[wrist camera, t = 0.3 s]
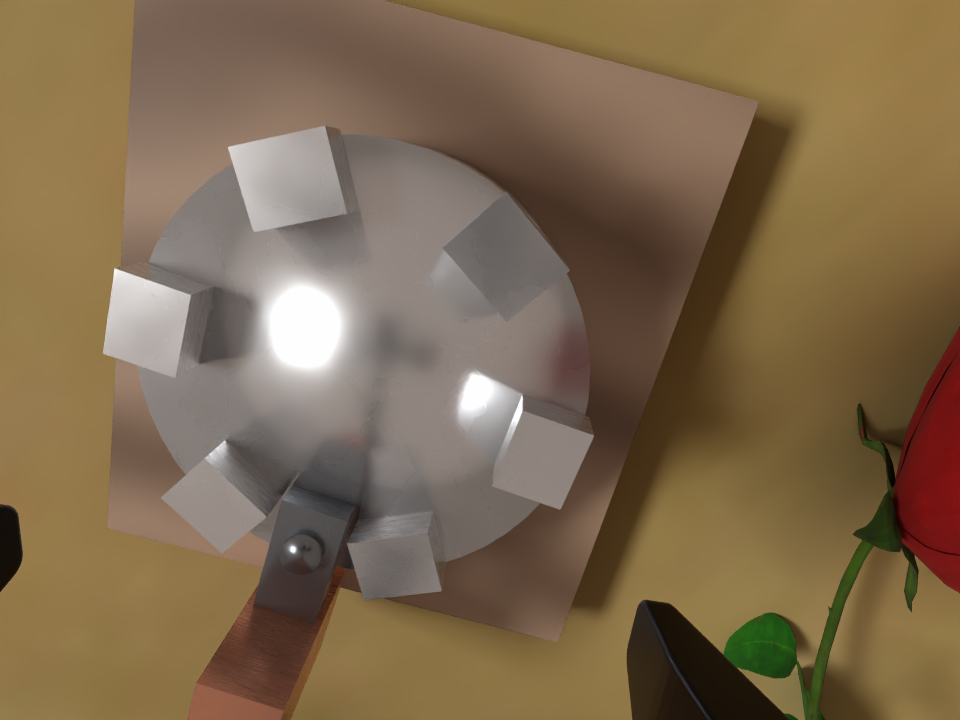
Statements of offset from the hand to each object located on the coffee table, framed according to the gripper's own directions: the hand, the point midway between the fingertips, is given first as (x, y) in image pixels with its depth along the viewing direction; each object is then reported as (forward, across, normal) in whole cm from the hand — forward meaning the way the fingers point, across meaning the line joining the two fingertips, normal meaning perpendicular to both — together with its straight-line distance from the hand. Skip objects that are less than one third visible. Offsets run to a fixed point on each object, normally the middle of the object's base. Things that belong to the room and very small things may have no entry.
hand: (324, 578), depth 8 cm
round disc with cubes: (+12, +2, +3) cm, 12 cm away
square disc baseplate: (+14, +2, 0) cm, 14 cm away
